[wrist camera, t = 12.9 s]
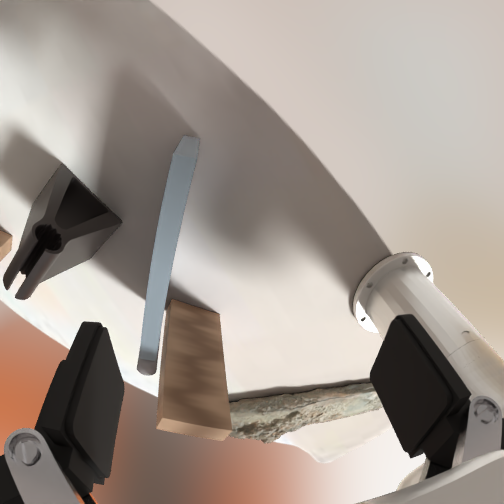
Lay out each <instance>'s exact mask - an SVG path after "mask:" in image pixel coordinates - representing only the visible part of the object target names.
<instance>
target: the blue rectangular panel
mask: <svg viewBox="0 0 504 504" xmlns="http://www.w3.org/2000/svg"><path fill="white" fill-rule="evenodd" d="M199 142H200V139H199V138H195V137H190V136H186V135H184V136H183V138H182V139H181V141H180V143H179V145H178V146H177V148H176V150H175V151H174V153H173V157H172V161H171V165H170V169H169V174H168V178H167V183H166V187H165V192H164V197H163V201H162V206H161V211H160V216H159V221H158V227H157V232H156V238H155V243H154V249H153V255H152V261H151V267H150V274H149V281H148V288H147V295H146V302H145V310H144V318H143V327H142V336H141V346H140V352H139V358H138V364H137V370H138V371H139V372H140V373H141V374H143V375H153V374H155V373H156V369H157V360H158V350H159V342H160V333H161V326H162V320H163V314H164V308H165V302H166V297H167V291H168V286H169V281H170V276H171V270H172V265H173V260H174V256H175V251H176V246H177V241H178V237H179V232H180V228H181V223H182V219H183V214H184V210H185V206H186V202H187V197H188V193H189V189H190V185H191V181H192V177H193V173H194V169H195V165H196V162H197V157H198V149H199Z"/></svg>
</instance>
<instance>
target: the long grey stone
mask: <svg viewBox="0 0 504 504" xmlns="http://www.w3.org/2000/svg"><path fill="white" fill-rule="evenodd" d="M229 407H230V415H231V423H232V432H231V433H230V434H229V435H228V436H230V437H234V438H240V439H245V438H249V439H256V440H262V441H263V442H264V443H271V442H273V441H274V440H276V439H278V438H279V437H280V436H281V435H283V434H285V433H287V432H292V431H296V430H298V429H299V428H301V427H302V426H305V425H310V424H313V423H323V422H328V421H332V420H336V419H341V418H345V417H350V416H354V415H358V414H362V413H365V412H368V411H374V410H379V408H382V407H383V405H382V403H381V401H380V399H379V397H378V395H377V393H376V391H375V389H374V387H373V385H372V383H363V384H354V385H353V384H349V385H347V386H344V387H336V388H334V387H331V388H328V389H322V388H317V389H315V390H312V391H310V392H303V393H300V394H296V393H294V394H293V395H290V394H282V395H274V396H270V397H261V398H252V399H240V400H239V402H231V403H229Z"/></svg>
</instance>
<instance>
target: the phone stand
mask: <svg viewBox="0 0 504 504" xmlns="http://www.w3.org/2000/svg"><path fill="white" fill-rule="evenodd" d="M121 224H122V220H121V219H120V218H119V217H118V216H116V215H115V214H114V213H113V212H112V211H111V210H110V209H109V208H108V207H107V206H106V205H105V204H104V203H103V202H102V201H101V200H100V199H99V198H98V197H97V196H95V195H94V194H93V193H91V191H90V190H89V189H88V188H87V187H86V186H85V185H84V184H83V183H82V182H81V181H80V180H79V179H78V178H77V177H76V176H75V175H74V174H73V173H72V172H71V171H70V170H69V169H68V168H67V167H66V166H65V165H64V164H61V165H60V166H59V168H58V169H57V171H56V172H55V173H54V175H53V176H52V177H51V179H50V180H49V182H48V183H47V184H46V186H45V187H44V189H43V190H42V192H41V193H40V195H39V196H38V198H37V199H36V201H35V202H34V204H33V205H32V208H31V211H30V214H29V217H28V220H27V223H26V226H25V229H24V232H23V235H22V238H21V242H20V245H19V249H18V251H17V252H16V254H15V256H14V258H13V259H12V261H11V263H10V265H9V267H8V268H7V270H6V272H5V274H4V277H3V283H4V286H5V288H6V290H8V289H9V288H10V286H11V284H12V283H13V281H14V279H15V277H16V276H17V274H18V272H19V271H21V273H22V274H26V279H25V280H24V282H23V283H22V285H21V287H20V288H19V290H18V292H17V293H16V295H15V298H16V299H20V300H25V299H28V298H29V297H30V296H31V295H32V293H33V292H34V290H35V289H36V287H37V286H38V284H39V283H41V282H43V281H45V280H47V279H49V278H51V277H53V276H55V275H57V274H59V273H61V272H64V271H66V270H68V269H70V268H72V267H74V266H76V265H78V264H80V263H82V262H85V261H87V260H89V259H90V258H91V257H92V256H93V255H94V254H95V252H96V251H97V250H98V249H99V248H100V247H101V246H102V244H103V243H104V242H105V241H106V240H107V239H108V238H109V237H110V236H111V235H112V233H113V232H114V231H115V230H116V229H117V228H118V227H119V226H120V225H121Z"/></svg>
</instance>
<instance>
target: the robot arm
mask: <svg viewBox="0 0 504 504" xmlns="http://www.w3.org/2000/svg"><path fill="white" fill-rule="evenodd" d="M353 312H354V315H355V318H356V320H357V321H358V323H359V324H360V325H361V326H362V327H363V328H364V329H366V330H368V331H371V332H378V333H379V334H380V336H381V337H382V339H383V340H384V341H383V343H382V346H381V348H380V351H379V353H378V355H377V358H376V360H375V362H374V365H373V367H372V369H371V372H370V380H371V383H372V385H373V387H374V389H375V391H376V393H377V395H378V397H379V399H380V401H381V403H382V405H383V407H384V409H385V412H386V414H387V416H388V418H389V420H390V422H391V424H392V426H393V428H394V430H395V433H396V435H397V437H398V439H399V441H400V444H401V445H402V448H403V450H404V451H405V452H408V454H409V456H410V458H413V457H416V456H419V455H421V454H423V453H425V455H426V460H425V463H423V464H422V465H421V466H419V467H418V468H416V469H415V470H413V471H412V472H411V473H409V474H408V475H407V476H406V477H405V478H404V479H403V480H402V482H401V483H400V484H399V486H398V488H397V490H396V491H395V492H392V493H389V494H386V495H383V496H380V497H377V498H373V499H370V500H367V501H363V502H360V503H356V504H504V361H503V359H502V358H501V357H500V356H499V355H498V354H497V353H496V351H495V350H494V349H493V348H492V347H491V346H490V344H489V343H488V342H487V341H486V340H485V339H484V337H483V336H482V335H481V334H480V333H479V332H478V331H477V330H476V328H475V327H474V326H473V325H472V324H471V323H470V322H469V321H468V320H467V318H466V317H464V315H463V314H462V313H461V312H460V311H459V310H458V309H457V308H456V307H455V305H454V304H453V303H452V302H451V301H450V300H449V299H448V298H447V297H446V296H445V295H444V294H443V293H442V292H441V291H440V290H439V289H438V288H437V287H436V286H435V285H434V284H433V272H432V269H431V266H430V265H429V263H428V262H427V261H426V260H425V259H424V258H423V257H422V256H420V255H418V254H416V253H412V252H403V253H397V254H394V255H392V256H389V257H387V258H386V259H384V260H382V261H380V262H379V263H378V264H377V265H375V266H374V267H373V268H372V269H371V270H370V271H369V272H368V273H367V274H366V276H365V277H364V278H363V280H362V281H361V283H360V284H359V286H358V288H357V290H356V293H355V296H354V300H353ZM123 396H124V382H123V379H122V376H121V373H120V370H119V367H118V363H117V360H116V357H115V354H114V350H113V347H112V343H111V340H110V336H109V333H108V329H107V328H106V327H103V326H102V324H101V323H99V322H85V321H84V322H83V323H82V324H81V326H80V328H79V330H78V333H77V335H76V337H75V339H74V342H73V344H72V346H71V348H70V351H69V353H68V355H67V358H66V360H62V361H61V362H60V364H59V366H58V368H57V370H56V373H55V375H54V378H53V380H52V383H51V385H50V388H49V390H48V393H47V395H46V398H45V401H44V403H43V406H42V409H41V412H40V414H39V417H38V420H37V423H36V426H35V429H34V430H33V429H30V428H22V429H18V430H16V431H14V432H13V433H11V434H10V436H9V437H8V438H7V440H6V442H5V446H4V455H2V456H0V504H98V502H97V501H96V499H95V498H94V497H93V495H92V494H91V492H92V489H93V483H96V484H102V485H104V480H105V478H108V477H109V476H110V472H111V465H112V458H113V451H114V445H115V439H116V433H117V428H118V422H119V416H120V411H121V405H122V401H123Z"/></svg>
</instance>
